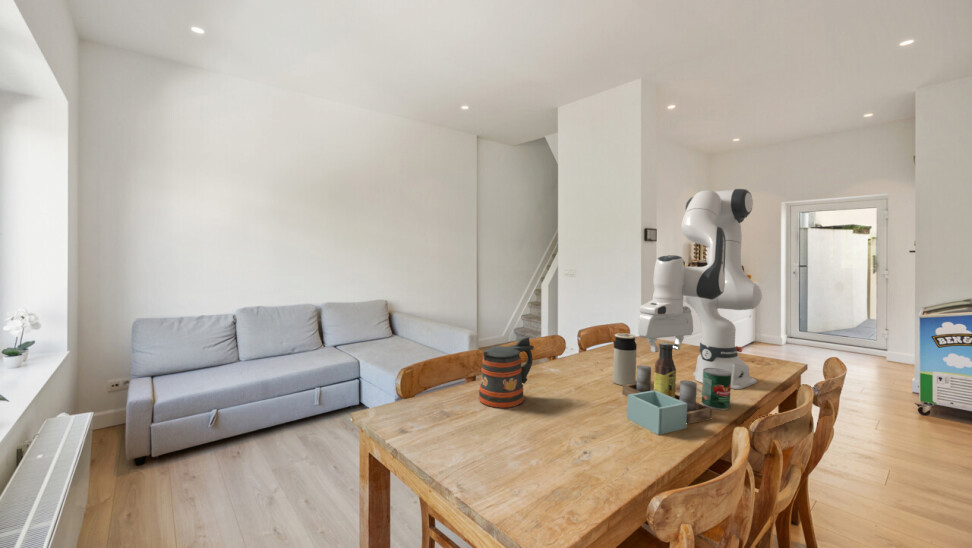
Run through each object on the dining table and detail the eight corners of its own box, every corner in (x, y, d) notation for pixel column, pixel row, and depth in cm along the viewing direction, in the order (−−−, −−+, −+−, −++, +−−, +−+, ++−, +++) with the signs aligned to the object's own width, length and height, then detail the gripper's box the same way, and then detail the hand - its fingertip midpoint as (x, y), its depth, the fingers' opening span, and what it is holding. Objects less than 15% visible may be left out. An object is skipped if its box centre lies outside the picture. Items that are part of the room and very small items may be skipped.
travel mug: (612, 385, 146) (614, 336, 145) (612, 378, 154) (614, 332, 153) (636, 387, 144) (637, 338, 143) (634, 380, 152) (636, 333, 151)
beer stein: (516, 387, 143) (517, 331, 142) (543, 400, 130) (544, 339, 129) (470, 397, 133) (471, 337, 131) (494, 412, 120) (495, 346, 119)
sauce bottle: (671, 411, 123) (674, 347, 122) (650, 406, 127) (652, 344, 125) (676, 404, 128) (679, 343, 127) (656, 400, 132) (658, 340, 131)
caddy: (653, 412, 121) (654, 390, 121) (686, 428, 111) (687, 403, 110) (626, 418, 117) (627, 394, 117) (658, 434, 106) (659, 409, 106)
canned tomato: (724, 411, 123) (725, 376, 122) (697, 404, 129) (698, 370, 128) (733, 405, 128) (735, 372, 127) (707, 398, 134) (709, 366, 133)
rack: (644, 390, 141) (645, 362, 141) (712, 418, 117) (713, 385, 117) (622, 393, 137) (623, 365, 137) (687, 424, 113) (689, 389, 113)
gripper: (682, 304, 133) (680, 346, 133) (635, 306, 124) (633, 350, 125) (699, 307, 127) (697, 350, 127) (651, 309, 119) (649, 355, 119)
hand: (665, 350), depth 126 cm, fingers open, 8 cm apart
